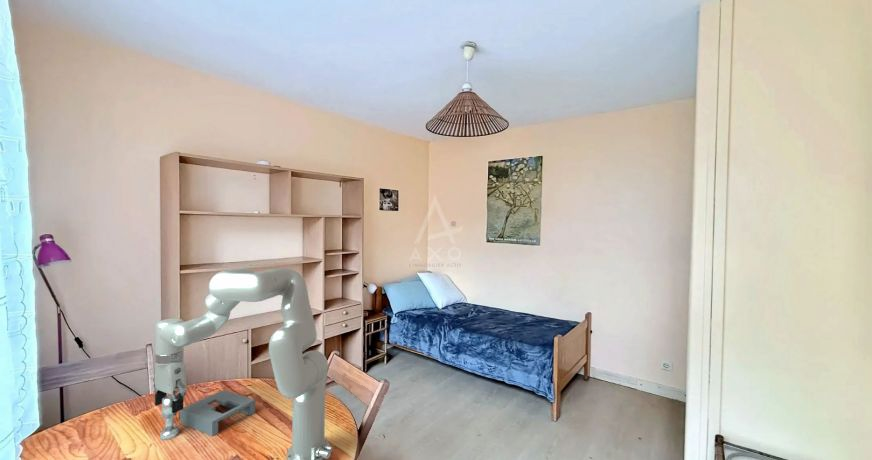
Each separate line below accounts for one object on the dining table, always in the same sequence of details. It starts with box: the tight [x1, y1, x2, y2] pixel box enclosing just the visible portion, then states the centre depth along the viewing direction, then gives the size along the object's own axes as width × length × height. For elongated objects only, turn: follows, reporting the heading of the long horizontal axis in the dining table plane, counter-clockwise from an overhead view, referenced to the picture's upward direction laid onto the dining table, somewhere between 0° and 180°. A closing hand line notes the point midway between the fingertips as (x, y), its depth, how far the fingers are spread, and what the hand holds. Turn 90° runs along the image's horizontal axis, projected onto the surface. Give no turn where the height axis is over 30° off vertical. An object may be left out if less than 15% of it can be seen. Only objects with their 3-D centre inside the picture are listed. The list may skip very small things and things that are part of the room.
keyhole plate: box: [179, 389, 256, 437], centre depth 126 cm, size 18×16×5 cm
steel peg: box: [159, 394, 179, 441], centre depth 115 cm, size 5×5×13 cm
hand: (169, 407), depth 115 cm, fingers open, 9 cm apart
